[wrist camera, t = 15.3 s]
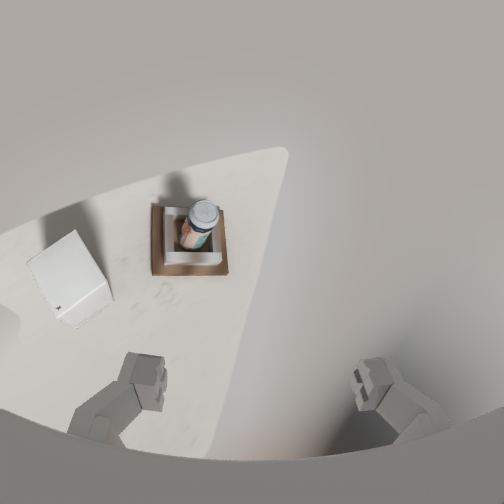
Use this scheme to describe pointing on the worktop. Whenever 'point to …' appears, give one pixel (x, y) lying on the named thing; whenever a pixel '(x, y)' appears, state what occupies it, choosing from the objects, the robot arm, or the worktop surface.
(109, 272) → the worktop surface
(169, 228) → the socket base
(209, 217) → the beer can
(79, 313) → the supplement box
